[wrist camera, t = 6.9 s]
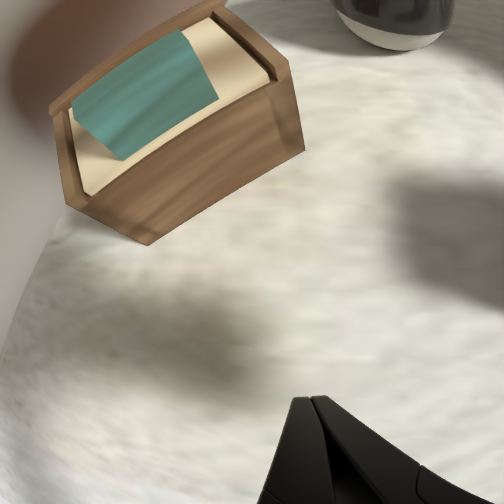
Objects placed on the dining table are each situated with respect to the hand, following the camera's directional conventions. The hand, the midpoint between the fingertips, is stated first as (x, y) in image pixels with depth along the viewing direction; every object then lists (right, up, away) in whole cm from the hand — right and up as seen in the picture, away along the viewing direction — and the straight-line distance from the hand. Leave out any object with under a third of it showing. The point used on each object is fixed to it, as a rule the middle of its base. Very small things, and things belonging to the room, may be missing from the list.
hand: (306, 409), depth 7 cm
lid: (-6, +12, +7) cm, 15 cm away
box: (-5, +11, +14) cm, 18 cm away
